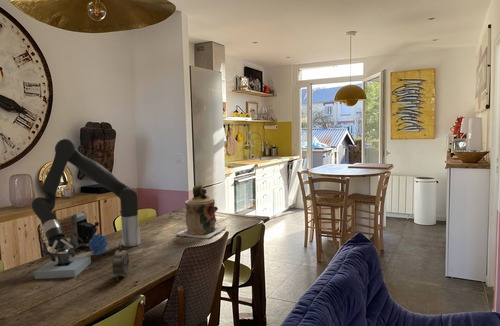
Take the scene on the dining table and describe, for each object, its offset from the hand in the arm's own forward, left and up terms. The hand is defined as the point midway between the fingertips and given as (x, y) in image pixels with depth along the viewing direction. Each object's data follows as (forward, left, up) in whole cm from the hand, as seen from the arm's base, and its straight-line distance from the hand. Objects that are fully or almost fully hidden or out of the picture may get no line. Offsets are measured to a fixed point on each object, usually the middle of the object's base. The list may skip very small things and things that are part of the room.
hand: (64, 258), depth 173 cm
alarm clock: (-30, +11, -6) cm, 33 cm away
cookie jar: (-59, -58, -6) cm, 83 cm away
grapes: (-8, -23, -6) cm, 25 cm away
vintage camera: (+4, -39, -6) cm, 39 cm away
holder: (+1, -1, -6) cm, 6 cm away
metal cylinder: (+1, -1, -6) cm, 6 cm away
